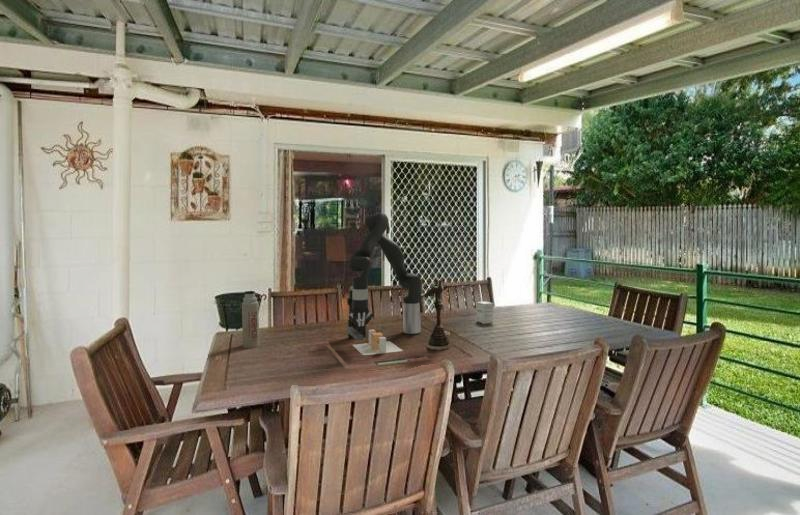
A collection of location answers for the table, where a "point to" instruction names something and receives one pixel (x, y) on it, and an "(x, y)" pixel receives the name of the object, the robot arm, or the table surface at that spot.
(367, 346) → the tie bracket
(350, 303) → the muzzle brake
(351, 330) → the strap
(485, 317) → the grey cylindrical canister
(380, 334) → the orange block
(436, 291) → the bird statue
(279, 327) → the table surface
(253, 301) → the thermos bottle
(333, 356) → the table surface
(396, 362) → the mat
